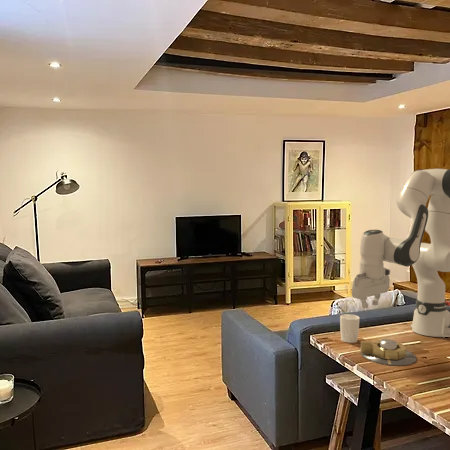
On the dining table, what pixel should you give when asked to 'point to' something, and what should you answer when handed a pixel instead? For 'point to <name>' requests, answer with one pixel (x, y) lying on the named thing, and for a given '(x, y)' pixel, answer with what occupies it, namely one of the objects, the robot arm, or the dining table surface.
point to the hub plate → (391, 345)
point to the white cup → (349, 328)
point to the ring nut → (383, 350)
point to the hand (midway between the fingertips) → (370, 306)
